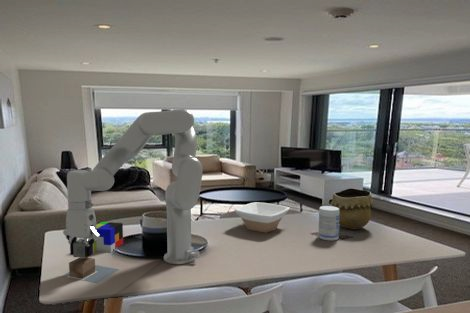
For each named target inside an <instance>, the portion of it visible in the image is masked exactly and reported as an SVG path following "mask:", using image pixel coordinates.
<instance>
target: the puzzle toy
mask: <svg viewBox="0 0 470 313" xmlns="http://www.w3.org/2000/svg"><path fill="white" fill-rule="evenodd" d="M96 225H97V233H98V234H99V236H100V237H99V238H98V239H97V240H96V241H95V242H94V252H102V253H110V254H111V253H113V252H114V251H113V249H115V248H116V247H118V246H120V245H122V244H123V245H124V227H123V222H113V221H112V222H111V221H110V222H109V221H101V222H99V223H96ZM92 237H93V235H92ZM123 245H122V246H123ZM120 247H121V246H120ZM112 251H113V252H112Z"/></svg>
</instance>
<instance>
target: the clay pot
mask: <svg viewBox="0 0 470 313" xmlns="http://www.w3.org/2000/svg"><path fill="white" fill-rule="evenodd" d="M372 196H373V195H372V192H371V191H370V190H368V189H359V188H354V187H350V188H345V189H343V190H340V191H336V192H335V191H334V192H333V195H332V199H331V202H330V204H331V206H333V207H337V208H339V226H342V227H343V228H345V229H348V230H350V229H351V230H359V229H362V228H364V227H365V226H366V225H368V224H369V222H370V220H371V218H372V210H371V208H372V207H374V205H375V204H374V201H373V197H372Z"/></svg>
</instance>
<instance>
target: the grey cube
mask: <svg viewBox="0 0 470 313" xmlns="http://www.w3.org/2000/svg"><path fill="white" fill-rule="evenodd" d="M88 240H89V238H88ZM89 241H90V240H89ZM85 246H86V243H85V240H84V238H79V239H77V241H76V242H74V243H73V253H74V254H73V258H80V257H85ZM94 252H95V251H94V244H93V253H94Z"/></svg>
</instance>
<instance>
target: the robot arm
mask: <svg viewBox="0 0 470 313" xmlns="http://www.w3.org/2000/svg"><path fill="white" fill-rule="evenodd" d="M194 124H195V116H194V114H193V113H192V112H191V111H190V110H189V109H185V108H178V109H177V108H176V109H170V110H163V111H148V112H143V113H141V114H140V115H139V116H138V117H137V118H136V119H135V120H134V121H133V122H132V123H131V125H130V126H129V128H127V129H126V131H125V132H124V134H123V135H121V137H120V138H119V139H118V141H117V142H115V144H114V145H113V146H112V147H111V148H110V149H109V150H108V151H107V152H106V153H105V154H104V155H103V157H102V158H100V160H99V162H97V164H96V165H95V166H94V168H93V169H92V170H91V171H89V170H88V169H87V170H86V169H75V170H70V171H68V172H67V174H66V186H67V188H66V189H67V210H66V217H65V228H64V230H63V231H62V233H63V235H64V236H65V238H66V239H67V241H68V242H67V243H68V244H69V250H70V251H69V252H70V256H74V253H73V243H74V242H76V241H77V240H78V238H79V239H84V240H85V243H86V246H85V257H87V258H90V257H91V256H93V254H94V252H93V244H94V242H95V241H96V240H97V239H98V238H99V237H100V236H99V234H98V233H97V220H96V213H95V210H94V208H93V206H94V204H93V203H92V191H96V192H98V191H99V192H104V191H108V190H110V189H111V188H112V187H113V186H114V183H115V177H114V176H115V174H116V173H117V172H118V171H119V170H120V168H122V166H124V165H125V164H126V163H127V162H129V161H131V160H133V159H134V158H136V156H138V155H139V154H140V153H141V151H142V150H143V148H145V146H146V145H147V143H149V141H150V140H151V139H152V138H153V136H163V135H170V134H173V135H174V140H175V141H174V142H175V143H174V151H173V157H172V161H171V162H172V163H171V172H172V174H173V175H174V176H175V177H177V178H176V181H172V182H170V183H169V184H168V185H167V186H166V189H165V192H164V197H165V205H166V237H167V238H166V239H167V240H166V242H167V245H166V246H167V249H166V250H167V252H166V253H164V256H163V261H164V262H165V263H167V264H170V265H185V264H189V263H191V262H193V261H194V260H195V259H199V258H200V257H201V255H200V251H199V250H194V249H195V248H194V246H192V210H191V209H193V208H194V207H195V206H196V205H197V203H198V201H199V197H200V191H201V188H202V187H201V186H202V180H203V179H202V178H203V165H202V163H201V161H200V160H199V159H198V158H197V157H196V154H197V145H198V144H197V143H198V138H197V137H198V136H197V132H196V129H195V128H194ZM92 235H93V237H92ZM88 239H89V240H90V241H89V240H88Z"/></svg>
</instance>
